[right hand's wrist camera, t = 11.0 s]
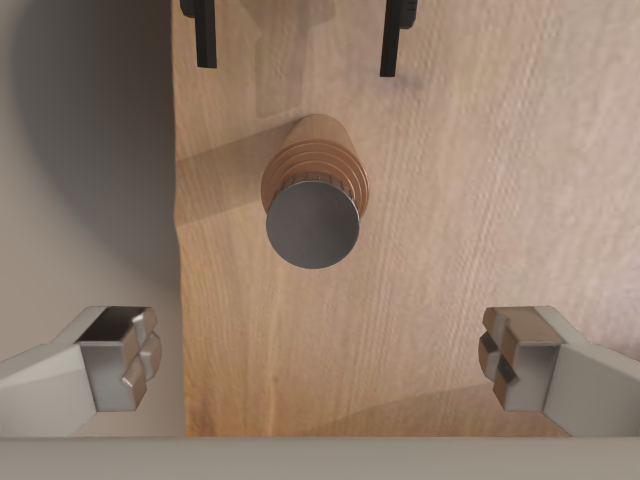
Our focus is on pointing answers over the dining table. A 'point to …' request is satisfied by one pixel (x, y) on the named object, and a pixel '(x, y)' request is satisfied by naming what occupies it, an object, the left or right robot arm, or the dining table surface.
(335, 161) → the bottle
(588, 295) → the dining table surface
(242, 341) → the dining table surface
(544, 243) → the dining table surface
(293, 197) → the cap
